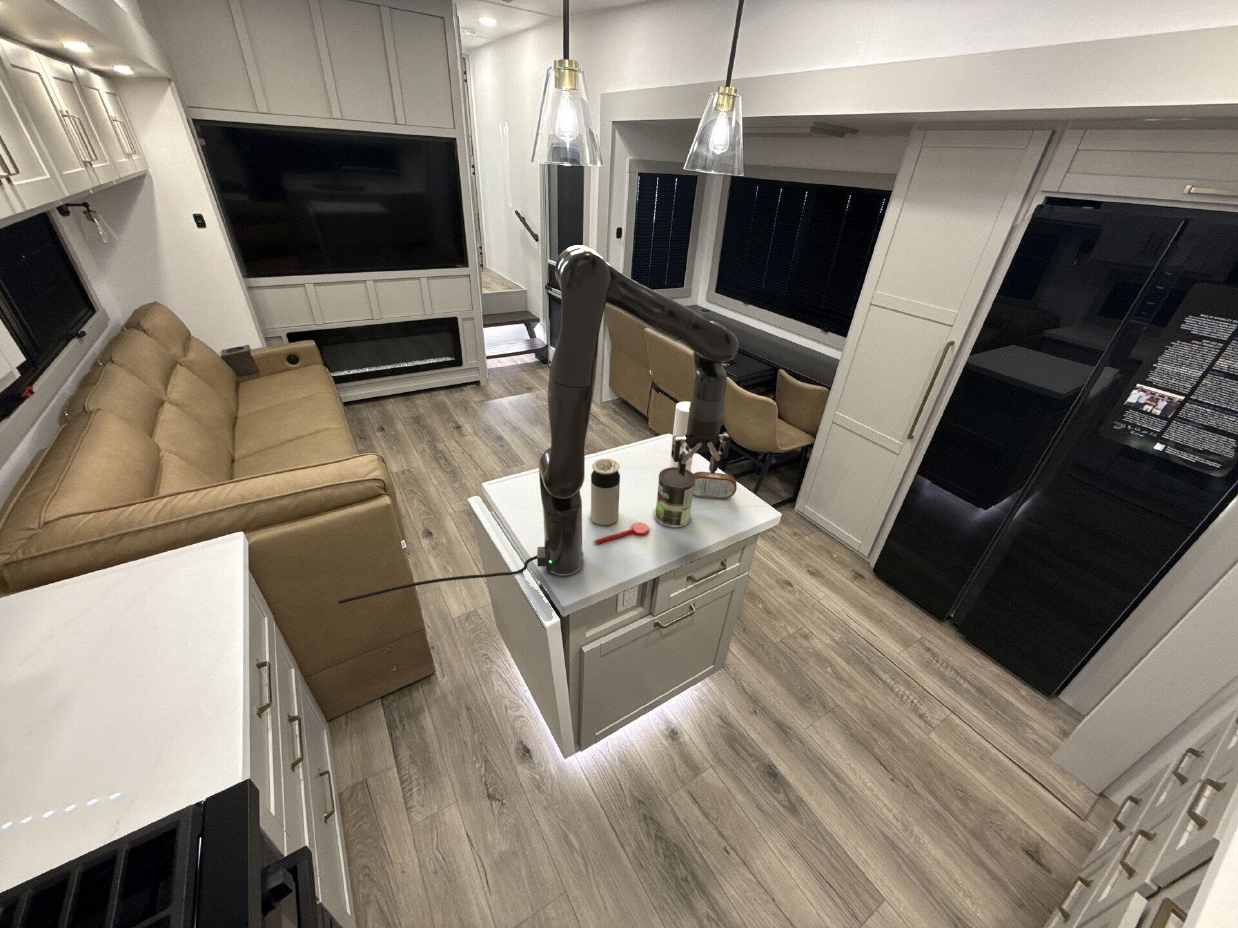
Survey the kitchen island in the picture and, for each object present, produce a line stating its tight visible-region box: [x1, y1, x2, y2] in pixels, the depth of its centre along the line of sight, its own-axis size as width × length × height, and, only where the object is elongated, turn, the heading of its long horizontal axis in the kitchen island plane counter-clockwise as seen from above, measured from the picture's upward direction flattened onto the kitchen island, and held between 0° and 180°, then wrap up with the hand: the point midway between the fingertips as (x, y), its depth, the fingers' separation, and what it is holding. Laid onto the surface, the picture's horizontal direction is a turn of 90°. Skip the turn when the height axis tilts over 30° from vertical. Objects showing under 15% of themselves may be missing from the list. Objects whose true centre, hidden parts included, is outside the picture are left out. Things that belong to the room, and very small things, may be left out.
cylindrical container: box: [668, 401, 694, 472], centre depth 154 cm, size 7×7×25 cm
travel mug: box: [590, 458, 621, 526], centre depth 136 cm, size 8×8×18 cm
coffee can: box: [654, 467, 696, 528], centre depth 138 cm, size 10×10×14 cm
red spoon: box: [594, 522, 649, 545], centre depth 134 cm, size 16×5×1 cm, turn 117°
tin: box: [693, 471, 738, 500], centre depth 149 cm, size 15×3×8 cm, turn 84°
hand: (696, 473), depth 119 cm, fingers open, 7 cm apart
